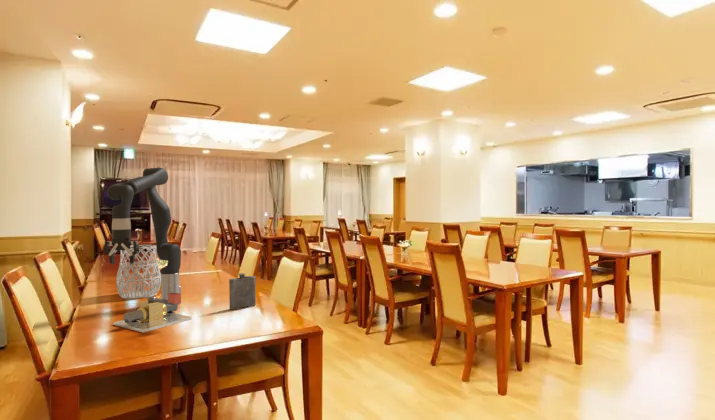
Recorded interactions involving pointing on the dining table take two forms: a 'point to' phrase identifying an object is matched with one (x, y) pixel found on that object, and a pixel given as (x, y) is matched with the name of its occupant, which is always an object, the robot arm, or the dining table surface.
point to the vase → (140, 292)
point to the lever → (172, 299)
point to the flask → (242, 291)
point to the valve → (151, 317)
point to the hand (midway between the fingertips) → (122, 263)
